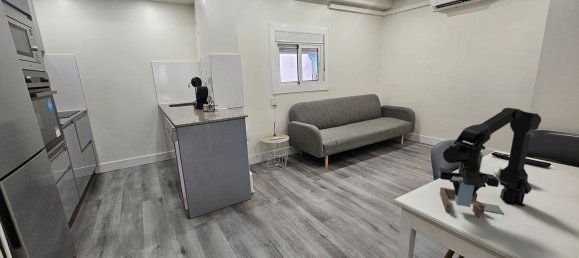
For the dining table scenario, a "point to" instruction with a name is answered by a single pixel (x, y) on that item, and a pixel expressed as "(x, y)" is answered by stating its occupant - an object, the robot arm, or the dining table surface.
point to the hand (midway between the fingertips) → (463, 196)
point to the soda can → (480, 160)
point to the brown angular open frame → (451, 193)
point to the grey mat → (492, 208)
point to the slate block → (464, 194)
